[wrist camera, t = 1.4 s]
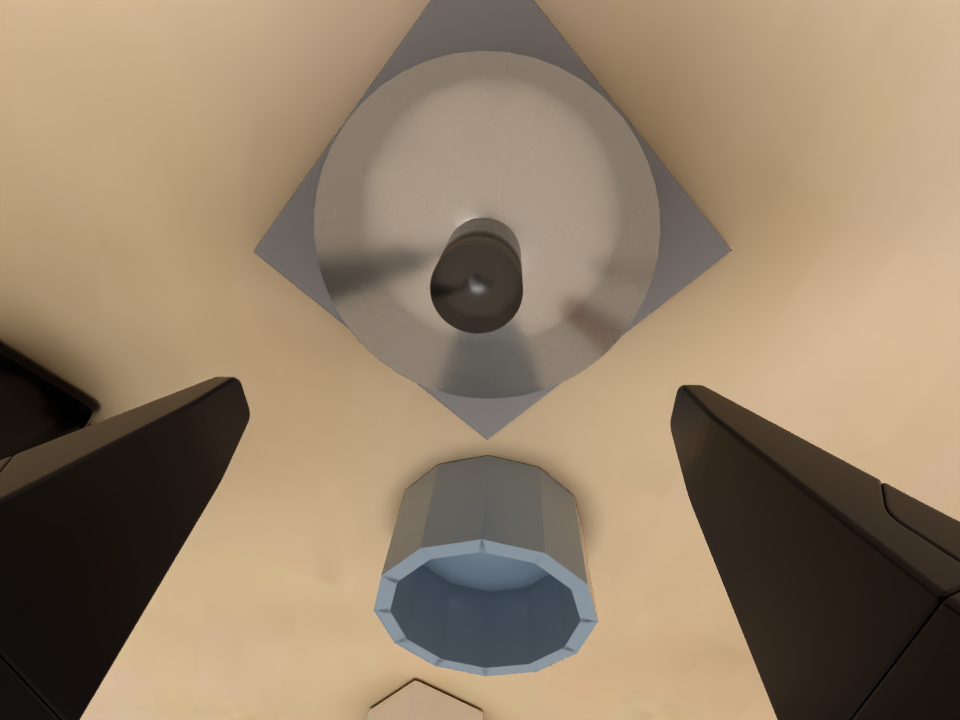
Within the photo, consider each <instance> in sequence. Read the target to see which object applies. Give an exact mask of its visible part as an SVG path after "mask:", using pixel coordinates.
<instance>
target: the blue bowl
mask: <svg viewBox="0 0 960 720" xmlns="http://www.w3.org/2000/svg"><path fill="white" fill-rule="evenodd" d="M374 611H375V613H376V615H377V616H378V618H379V619H380V621H381V622H382V624H383V625H384V627H385V629H386V630H387V632H388V633H389V635H390V636H391V638H392V640H393V641H394V643H396V644H398V645H399V646H401V647H403V648H405V649H406V650H408V651H410V652H412V653H413V654H415V655H417V656H419V657H420V658H422V659H424V660H426V661H427V662H429V663H431V664H433V665H434V666H438V667H443V668H448V669H453V670H458V671H463V672H468V673H473V674H478V675H483V676H493V675H504V674H516V673H527V672H537V671H539V670H541V669H543V668H546V667H548V666H550V665H552V664H554V663H556V662H559V661H561V660H563V659H565V658H567V657H569V656H572V655H574V654H576V653H578V651H579V650H580V648H581V647H582V645H583V644H584V642H585V641H586V639H587V637H588V636H589V634H590V633H591V631H592V630H593V628H594V627H595V625H596V624H597V622H598V619H597V613H596V607H595V601H594V595H593V589H592V583H591V577H590V571H589V565H588V559H587V553H586V547H585V541H584V535H583V529H582V526H581V522H580V518H579V514H578V510H577V506H576V502H575V498H574V496H573V495H572V494H571V493H570V492H569V491H567V490H566V489H565V488H564V487H562V486H561V485H560V484H559V483H558V482H556V481H555V480H554V479H553V478H551V477H550V476H549V475H548V474H547V473H545V472H544V471H543V470H542V469H540V468H539V467H535V466H531V465H527V464H522V463H518V462H514V461H510V460H505V459H501V458H497V457H492V456H482V457H477V458H471V459H466V460H460V461H455V462H449V463H444V464H438V465H437V466H436V467H434V468H433V469H432V470H431V471H429V472H428V473H427V474H425V475H424V476H423V477H422V478H420V479H419V480H418V481H417V482H415V483H414V484H413V485H412V486H410V487H409V488H408V489H407V490H405V493H404V497H403V501H402V504H401V508H400V511H399V515H398V518H397V522H396V526H395V529H394V533H393V536H392V540H391V543H390V547H389V550H388V554H387V558H386V561H385V565H384V568H383V572H382V575H381V580H380V585H379V589H378V594H377V598H376V603H375V607H374Z"/></svg>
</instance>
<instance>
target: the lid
mask: <svg viewBox="0 0 960 720" xmlns="http://www.w3.org/2000/svg"><path fill="white" fill-rule="evenodd" d="M314 238H315V246H316V253H317V259H318V263H319V266H320V270H321V274H322V278H323V280H324V283H325V285H326V288H327V290H328V293H329V296H330V298H331V300H332V302H333V303H334V305H335V307H336V309H337V311H338V313H339V314H340V316H341V318H342V319H343V320H344V322H345V323H346V325H347V326H348V328H349V329H350V330H351V332H352V333H353V334H354V335H355V336H356V338H357V339H358V340H359V341H360V342H361V343H362V344H363V345H364V347H365V348H367V349H368V350H369V351H370V352H371V353H372V354H373V355H374V356H375V357H377V358H378V359H379V360H380V361H381V362H383V363H384V364H386V365H387V366H388V367H390V368H391V369H393V370H394V371H395V372H397V373H399V374H401V375H402V376H404V377H406V378H408V379H410V380H411V381H413V382H416V383H418V384H420V385H423V386H425V387H428V388H430V389H433V390H437V391H440V392H443V393H447V394H451V395H456V396H462V397H468V398H482V399H494V398H509V397H515V396H522V395H527V394H530V393H534V392H538V391H542V390H544V389H547V388H549V387H552V386H555V385H557V384H560V383H562V382H564V381H566V380H567V379H569V378H571V377H573V376H575V375H577V374H578V373H580V372H581V371H583V370H584V369H586V368H587V367H589V366H590V365H592V364H593V363H594V362H596V361H597V360H598V359H599V358H600V357H601V356H602V355H604V354H605V353H606V352H607V351H608V350H609V349H610V348H611V347H612V346H613V345H614V344H615V343H616V341H617V340H618V339H619V338H620V337H621V336H622V335H623V333H624V332H625V331H626V329H627V328H628V326H629V325H630V324H631V322H632V321H633V319H634V318H635V316H636V314H637V312H638V310H639V309H640V307H641V305H642V303H643V301H644V299H645V297H646V294H647V292H648V289H649V286H650V284H651V281H652V278H653V275H654V270H655V266H656V262H657V258H658V251H659V241H660V208H659V203H658V197H657V191H656V185H655V182H654V179H653V176H652V173H651V169H650V166H649V163H648V160H647V158H646V156H645V154H644V152H643V150H642V148H641V146H640V144H639V142H638V140H637V138H636V136H635V135H634V134H633V132H632V131H631V129H630V128H629V126H628V125H627V123H626V122H625V120H624V119H623V117H622V116H621V115H620V114H619V113H618V112H617V111H616V110H615V109H614V108H613V106H612V105H611V104H610V103H609V102H608V101H607V100H606V99H605V98H604V97H603V96H602V95H600V94H599V93H598V92H597V91H595V90H594V89H593V88H592V87H590V86H589V85H588V84H587V83H585V82H584V81H583V80H581V79H579V78H578V77H576V76H574V75H572V74H570V73H569V72H567V71H565V70H563V69H562V68H560V67H558V66H555V65H552V64H550V63H547V62H544V61H542V60H539V59H536V58H534V57H529V56H524V55H519V54H515V53H510V52H498V51H472V52H463V53H454V54H450V55H446V56H442V57H439V58H435V59H432V60H428V61H425V62H423V63H421V64H419V65H416V66H414V67H412V68H410V69H408V70H405V71H403V72H401V73H400V74H398V75H397V76H395V77H394V78H392V79H391V80H389V81H388V82H386V83H385V84H383V85H382V86H380V87H379V88H378V89H377V90H376V91H375V92H374V93H372V94H371V95H370V96H369V97H368V98H367V99H366V100H365V101H363V102H362V103H361V105H360V106H359V107H358V108H357V109H356V111H355V112H354V113H353V114H352V115H351V117H350V118H349V119H348V120H347V121H346V123H345V124H344V126H343V128H342V129H341V131H340V133H339V134H338V136H337V138H336V139H335V141H334V142H333V144H332V147H331V149H330V151H329V154H328V156H327V158H326V161H325V163H324V165H323V169H322V172H321V176H320V180H319V183H318V187H317V193H316V200H315V208H314Z"/></svg>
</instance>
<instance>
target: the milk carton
mask: <svg viewBox="0 0 960 720" xmlns="http://www.w3.org/2000/svg"><path fill="white" fill-rule="evenodd" d="M367 720H483V713H482V712H481V711H480V710H478V709H476V708H474V707H472V706H469V705H467V704H465V703H463V702H461V701H459V700H457V699H455V698H453V697H450V696H448V695H446V694H444V693H442V692H440V691H438V690H436V689H434V688H431V687H429V686H427V685H425V684H423V683H421V682H419V681H413V682H412V683H410V684H409V685H407V686H405V687H404V688H402V689H401V690H399V691H398V692H396V693H395V694H393V695H392V696H390V697H389V698H387V699H386V700H384V701H383V702H381V703H380V704H378V705H376V706H375V707H373V708H372V709H370V710H369V712H368V716H367Z"/></svg>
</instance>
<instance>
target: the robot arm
mask: <svg viewBox="0 0 960 720" xmlns="http://www.w3.org/2000/svg"><path fill="white" fill-rule="evenodd" d="M97 412H98V407H97V405H96V404H95V403H94V402H93V401H92V400H90V399H89V398H87V397H85V396H84V395H82V394H80V393H79V392H77V391H76V390H74V389H72V388H71V387H69V386H68V385H66V384H64V383H63V382H61V381H59V380H58V379H56V378H55V377H53V376H51V375H50V374H48V373H46V372H45V371H43V370H42V369H40V368H38V367H37V366H35V365H34V364H32V363H30V362H29V361H27V360H25V359H24V358H22V357H21V356H19V355H17V354H16V353H14V352H12V351H11V350H9V349H8V348H6V347H4V346H3V345H1V344H0V720H80V718H81V716H82V715H83V713H84V711H85V710H86V708H87V706H88V705H89V703H90V701H91V700H92V698H93V696H94V695H95V693H96V691H97V689H98V688H99V686H100V684H101V683H102V681H103V679H104V678H105V676H106V674H107V673H108V671H109V669H110V668H111V666H112V664H113V663H114V661H115V659H116V658H117V656H118V654H119V652H120V651H121V649H122V647H123V646H124V644H125V642H126V641H127V639H128V637H129V636H130V634H131V632H132V631H133V629H134V627H135V626H136V624H137V622H138V620H139V619H140V617H141V615H142V614H143V612H144V610H145V609H146V607H147V605H148V604H149V602H150V600H151V599H152V597H153V595H154V594H155V592H156V590H157V588H158V587H159V585H160V583H161V582H162V580H163V578H164V577H165V575H166V573H167V572H168V570H169V568H170V567H171V565H172V563H173V562H174V560H175V558H176V556H177V555H178V553H179V551H180V550H181V548H182V546H183V545H184V543H185V541H186V540H187V538H188V536H189V535H190V533H191V531H192V530H193V528H194V526H195V524H196V523H197V521H198V519H199V518H200V516H201V514H202V513H203V511H204V509H205V508H206V506H207V504H208V503H209V501H210V499H211V498H212V496H213V494H214V493H215V491H216V489H217V487H218V485H219V484H220V482H221V480H222V478H223V476H224V474H225V472H226V470H227V467H228V465H229V463H230V461H231V459H232V456H233V454H234V452H235V450H236V448H237V446H238V443H239V441H240V439H241V437H242V435H243V432H244V430H245V428H246V426H247V424H248V421H249V417H250V410H249V407H248V403H247V400H246V397H245V394H244V391H243V388H242V385H241V382H240V381H239V380H238V379H237V378H235V377H215V378H212V379H209V380H207V381H204V382H202V383H199V384H196V385H194V386H191V387H189V388H186V389H184V390H181V391H178V392H176V393H173V394H171V395H168V396H166V397H163V398H160V399H158V400H155V401H153V402H150V403H148V404H145V405H142V406H140V407H137V408H135V409H132V410H129V411H127V412H124V413H122V414H119V415H117V416H114V417H111V418H109V419H106V420H104V421H101V422H99V423H96V424H93V425H91V426H89V424H90V422H91V421H92V419H93V418H94V416H95V415H96V413H97ZM671 432H672V436H673V440H674V444H675V447H676V451H677V455H678V459H679V463H680V466H681V470H682V474H683V478H684V482H685V485H686V489H687V492H688V496H689V498H690V501H691V504H692V507H693V509H694V512H695V514H696V517H697V519H698V522H699V524H700V527H701V529H702V532H703V534H704V537H705V539H706V542H707V544H708V547H709V549H710V552H711V554H712V557H713V559H714V562H715V564H716V567H717V569H718V572H719V574H720V577H721V579H722V582H723V584H724V587H725V589H726V592H727V594H728V597H729V599H730V602H731V604H732V607H733V609H734V612H735V614H736V617H737V619H738V622H739V624H740V627H741V629H742V632H743V634H744V637H745V639H746V642H747V644H748V647H749V649H750V652H751V654H752V657H753V659H754V662H755V664H756V667H757V669H758V672H759V674H760V677H761V679H762V682H763V684H764V687H765V689H766V692H767V694H768V697H769V699H770V702H771V704H772V707H773V709H774V712H775V714H776V717H777V719H778V720H960V522H959V521H957V520H955V519H953V518H951V517H949V516H947V515H945V514H943V513H942V512H940V511H938V510H936V509H934V508H932V507H930V506H928V505H926V504H924V503H922V502H920V501H918V500H916V499H915V498H913V497H911V496H909V495H907V494H905V493H903V492H901V491H899V490H898V489H896V488H894V487H892V486H890V485H888V484H886V483H882V484H881V481H880V480H879V479H877V478H875V477H873V476H871V475H869V474H867V473H866V472H864V471H862V470H860V469H858V468H856V467H854V466H852V465H851V464H849V463H847V462H845V461H843V460H841V459H839V458H837V457H836V456H834V455H832V454H830V453H828V452H826V451H824V450H823V449H821V448H819V447H817V446H815V445H813V444H811V443H809V442H808V441H806V440H804V439H802V438H800V437H798V436H796V435H794V434H793V433H791V432H789V431H787V430H785V429H783V428H781V427H779V426H778V425H776V424H774V423H772V422H770V421H768V420H766V419H764V418H763V417H761V416H759V415H757V414H755V413H753V412H751V411H750V410H748V409H746V408H744V407H742V406H740V405H738V404H736V403H735V402H733V401H731V400H729V399H727V398H725V397H723V396H721V395H720V394H718V393H716V392H714V391H712V390H710V389H708V388H706V387H705V386H702V385H682V386H681V387H679V389H678V391H677V395H676V399H675V403H674V408H673V412H672V416H671Z"/></svg>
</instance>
